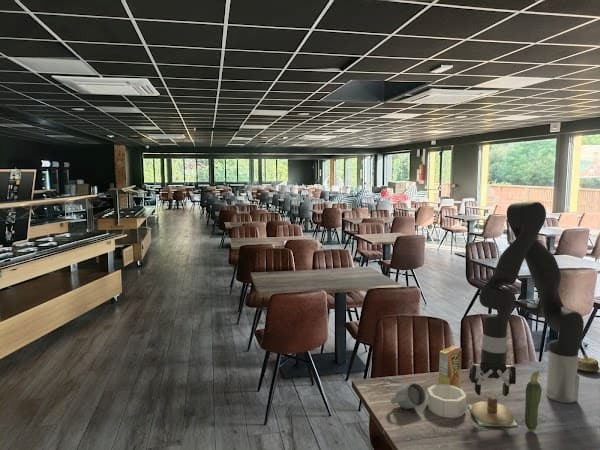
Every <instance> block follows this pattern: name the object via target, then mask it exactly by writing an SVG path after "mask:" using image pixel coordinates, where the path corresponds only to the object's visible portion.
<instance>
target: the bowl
mask: <svg viewBox="0 0 600 450" xmlns="http://www.w3.org/2000/svg"><path fill="white" fill-rule="evenodd" d="M426 393H427V394H426V401H427V402H426V403H427V407H428V410H429V411H430V412H431V413H433V414H434V415H437V416H439V417H441V416H442V417H443V418H447V419H456V418H461V417H463V416H464V415H465V412H466V411H467V394H466V392H465V391H464V389H462V388H461V387H459V388H457V387H455V386H452V385H449V384H439V383H438V384H437V383H435V384H432V385H431V386H429V387H427V391H426Z"/></svg>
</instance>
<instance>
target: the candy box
mask: <svg viewBox="0 0 600 450" xmlns="http://www.w3.org/2000/svg"><path fill="white" fill-rule="evenodd" d="M462 350H463V349H462V348H460V347H458V346H455V345H452V346H449V347H447V348H445V349H442V350H440V351H439V365H438V384H449V385H452V386H455V387H457V388H461V377H462V376H461V375H462V374H461V373H462V357H463V356H462V355H463V354H462V353H463V351H462Z"/></svg>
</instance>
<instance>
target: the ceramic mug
mask: <svg viewBox="0 0 600 450" xmlns="http://www.w3.org/2000/svg"><path fill="white" fill-rule="evenodd" d="M426 401H427V394H426V392H425V389H424V388H423V386H422V385H421V384H419V383H418V382H411V383H409V384H406V385H404V386H401V387H399V389H397V391H396V393H395V398H390V402H391V405H394V404H398V406H399V407H400V408H402V409H406V410H410V409H413V408H415V409H416V408H420V407H422V406H424V404H425V402H426Z"/></svg>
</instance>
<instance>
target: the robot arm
mask: <svg viewBox="0 0 600 450" xmlns="http://www.w3.org/2000/svg"><path fill="white" fill-rule="evenodd" d="M546 218H547V211H546V207H545V205H543V204H542V203H541V202H539V201H524V202H523V201H522V202H515V203H511V204H509V206H508V207H507V210H506V219H507V223H508V225H509V227H510V229H511V230H510V231H512V234H513V236H514V237H515V239H514V241H512V242H511V243H510V244H509V246H507V248H505V250H504V251H502V253H501V255H500V257H499V258H498V260H497V263H496V266H495V269H494V271H493V274H492V275H491V277H489V279H488V280H487V282H486V283H484V286H482V288H481V290H480V292H479V295H478V298H479V304H480V306H482V307H484V308H487V309H492V310H494V311H497V312H498V313H497V314H496V315H495V314H489V315H486V316H485V317H484V319H483V329H482V330H483V331H482V338H481V350H480V351H481V353H480V355H481V356H480V363H479V364H478V363H474V362H471V363H470V367H469V375H468V376H469V377H468V379H469V381H470V382H471V383H472V384H473V383H474V392H475V393H476V394H477V396H481V393H482V391H481V390H482V389H481V387H482V385H481V384H482V383H483V382H484V381H486V379H499V378H501V380H502V382H503V383H502V391H501V392H502V395H503V396H504V397H507V396H508V395H509V393H510V386H511V385H516V384H517V382H516V381H517V377H516V376H517V371H516V367H515V366H514V365H513V364H512V363H510V364H509V365H508V364H506V362H507V348H508V346H507V345H508V341H507V335H508V333H507V332H508V323H509V320H510V316H511V313H512V311H513V308H514V306H515V303H516V299H515V295H514V293H513V292H512V291H510V290H508V289H503V288H501V287H505V286H514V284H515V283H516V281H517V280H518V277H519V276H518V275H519V274H520V271H521V268H522V265H523V262H524V260H525V262H526V266H527V268H528V272H529V273H530V274H529V275H530V276H531V279H532V282H533V283H534V287H535V289H536V292H537V295H538V298H539V300H540V304H541V308H542V313H543V317H544V320H545V322H546V324H547V326H548V327H549V328H550V329H551V330H553V331H555V332H558V338H557V339H556V340H555V339H554V340H550V342H549V343H548V355H547V357H548V359H547V372H546V373H547V374H546V375H547V376H546V388H545V390H546V393H545V395H546V397H547V398H549V399H550V400H551V401H555V402H558V403H563V404H572V403H574V402H579V387H580V375H579V374H578V369H577V365H578V357H579V352H580V351H579V350H580V349H581V347H582V343H583V334H584V326H585V325H584V324H585V322H584V318H583V316H582V314H580V312H578V311H576V310H573V309H570V308H568V307H565V305H564V304H563V301H562V299H561V297H560V294H559V293H560V292H559V289H560V285H561V282H562V281H561V280H562V273H561V270H560V266H559V265H558V262H557V259H556V257H555V256H554V254H553V253H552V252H551V251H550V250H549V249H548V248H547V247H546V246H545V245H544V244H542V242H540V241H539V239H538V238H537V237H538V235H539V233H540V232H541V229H542V228H543V226H544V224H545V221H546ZM479 369H480V371H479V372H478V374H477V371H478V370H479ZM505 372H508V378H507V377H506V376H505ZM476 374H477V376H476Z"/></svg>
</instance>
